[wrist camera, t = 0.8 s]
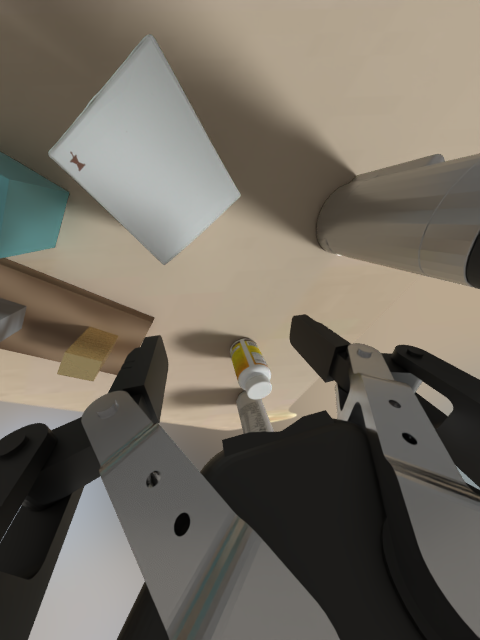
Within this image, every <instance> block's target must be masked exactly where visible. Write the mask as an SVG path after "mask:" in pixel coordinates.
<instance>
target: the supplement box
mask: <svg viewBox="0 0 480 640" xmlns="http://www.w3.org/2000/svg"><path fill="white" fill-rule="evenodd" d="M48 154H49V157H50V158H51V159H53V160H54V161H55V162H56V163H57V164H58V165H59V166H60V167H61V168H62V169H63V170H64V171H65V172H66V173H68V174H69V175H70V176H71V177H72V178H73V179H74V180H75V181H76V182H77V183H78V184H79V185H80V186H81V187H82V188H83V189H84V190H86V191H87V192H88V193H89V194H90V195H91V196H92V197H93V198H94V199H95V200H96V201H97V202H98V203H99V204H100V205H101V206H103V207H104V208H105V209H106V210H107V211H108V212H109V213H110V214H111V215H112V216H113V217H114V218H115V219H116V220H117V221H118V222H119V223H121V224H122V225H123V226H124V227H125V228H126V229H127V230H128V231H129V232H130V233H131V234H132V235H133V236H134V237H135V238H136V239H137V240H138V241H139V242H140V243H141V244H142V245H143V246H144V247H145V248H146V249H148V250H149V251H150V252H151V253H152V254H153V255H154V256H155V257H156V258H157V259H158V260H159V261H160V262H161V263H162V264H163V265H165V264H167V263H168V262H169V261H171V260H172V259H173V258H174V257H175V256H176V255H178V254H179V253H180V252H181V251H182V250H183V249H184V248H185V247H187V246H188V245H189V244H190V243H191V242H192V241H193V240H195V239H196V238H197V237H198V236H199V235H200V234H201V233H202V232H203V231H204V230H205V229H207V228H208V227H209V226H210V225H211V224H212V223H213V222H214V221H215V220H216V219H217V218H218V217H219V216H221V215H222V214H223V213H224V212H225V211H226V210H227V209H228V208H229V207H230V206H231V205H232V204H233V203H234V202H235V201H236V200H237V199H238V198H239V197H240V192H239V191H238V189H237V187H236V186H235V184H234V182H233V180H232V179H231V177H230V175H229V174H228V172H227V170H226V168H225V166H224V165H223V163H222V161H221V159H220V157H219V156H218V154H217V152H216V150H215V148H214V146H213V144H212V143H211V141H210V139H209V137H208V135H207V133H206V132H205V130H204V128H203V126H202V124H201V122H200V121H199V119H198V117H197V115H196V113H195V111H194V109H193V108H192V106H191V104H190V102H189V100H188V98H187V97H186V95H185V93H184V91H183V89H182V87H181V86H180V84H179V82H178V80H177V78H176V76H175V75H174V73H173V71H172V69H171V67H170V65H169V64H168V62H167V60H166V58H165V56H164V54H163V53H162V51H161V49H160V47H159V45H158V43H157V41H156V39H155V38H154V37H153V36H152V35H151V34H149V35H146V36H145V37H144V38H143V39H142V40H141V42H140V43H139V44H138V45H137V46H136V47H135V48H134V50H133V51H132V52H131V53H130V55H129V56H128V57H127V59H126V60H125V61H124V62H123V63H122V65H121V66H120V67H119V68H118V69H117V71H116V72H115V73H114V74H113V75H112V77H111V78H110V79H109V80H108V81H107V83H106V84H105V85H104V86H103V87H102V89H101V90H100V91H99V92H98V93H97V94H96V95H95V96H94V97H93V98H92V99H91V101H90V102H89V103H88V105H87V106H86V108H85V109H84V110H83V112H82V113H81V114H80V115H79V116H78V118H77V119H76V120H75V121H74V122H73V124H72V125H71V126H70V127H69V128H68V130H67V131H66V132H65V133H64V134H63V136H62V137H61V138H60V139H59V140H58V142H57V143H56V144H55V145H54V146H53V147H52V148H51V149H50V150H49V152H48Z"/></svg>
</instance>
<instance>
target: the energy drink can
mask: <svg viewBox="0 0 480 640" xmlns="http://www.w3.org/2000/svg"><path fill="white" fill-rule="evenodd" d="M236 403H237V408H238V412H239V416H240V420H241V425H242V429H243V433H244V434H245V433H249V432H274V431H273V428H272V426H271V423H270V420H269V418H268V415H267V413H266V410H265V407H264V405H263V402H262V399H251V398H249V397H248V395H247V392H246V391H243V392H242V393H240V394H239V396H238V399H237V401H236Z"/></svg>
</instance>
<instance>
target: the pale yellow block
mask: <svg viewBox="0 0 480 640" xmlns="http://www.w3.org/2000/svg"><path fill="white" fill-rule="evenodd" d="M117 338H118V335H115V334H112V333H109V332H105V331H102V330H99V329H96V328H93V327H89V328H88V329H87V330H86V331H85V332H84V333H83V334H82V335H81V336H80V337H79V338H78V339H77V340H76V341H75V342H74V343H73V344H72V345H71V346H70V347H69V348H68V349H67V350H66V352H65V353H64V356H63V359H62V361H61V364H60V367H59V370H58V373H57V374H59V375H64V376H69V377H74V378H79V379H84V380H89V381H94V379H95V378H96V376H97V374H98V373H99V371H100V370H101V368H102V366H103V365H104V363H105V361H106V360H107V358H108V357H109V355H110V353H111V351H112V349H113V347H114V345H115V343H116V341H117Z"/></svg>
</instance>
